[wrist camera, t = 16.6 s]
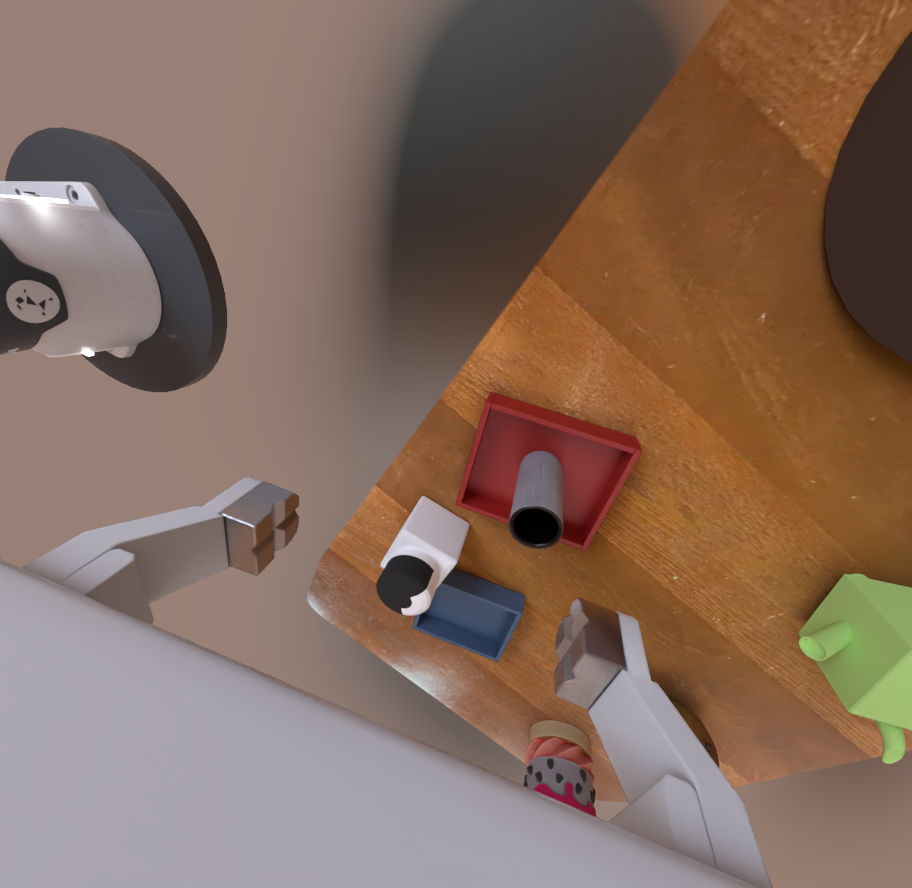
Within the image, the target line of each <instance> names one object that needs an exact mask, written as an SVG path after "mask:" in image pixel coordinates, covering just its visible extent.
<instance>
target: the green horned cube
mask: <svg viewBox="0 0 912 888" xmlns="http://www.w3.org/2000/svg"><path fill="white" fill-rule="evenodd" d="M798 634H799V636H800V637H801V638H800V640H799V645H800V648H801V650H802V651H803V652H804V653H805V654H806V655H807V656H808V657H810V658H812V659H814V660H815V661H816V663H817V664H818V666H819V667H820V669H821V671H822V672H823V674H824V675H825V677H826V678H827V680H828V682H829V683H830V685H831V686H832V688H833V690H834V691H835V693H836V694H837V696H838V697H839V699H840V701H841V702H842V704H843V705H844V707H845V709H846V710H847V711H848V712H850V713H852V714H855V715H859V716H862V717H866V718H870V719H873V720H875V722H876V724H877V726H878V728H879V730H880V733H881V736H882V740H883V754H882V761H883V762H884V763H887V764H891V763H894V762H897V761H898V760H900V759H901V758H902V757H903V755H904V753H905V737H904V733H903V728H906V729H910V730H912V588H911V587H906V586H901V585H897V584H892V583H887V582H882V581H878V580H873V579H869V578H868V577H867V576H865V575H862V574H851V575H849V574H844V575H843V576H842V578H841V579H840V580H839V581H838V583H837V584H836V585H835V587H834V588H833V589H832V590H831V592H830V593H829V594H828V596H827V597H826V598H825V599H824V601H823V602H822V603H821V604H820V606H819V607H818V608H817V609H816V611H815V612H814V613H813V615H812V616H811V617H810V618H809V620H808V621H807V622H806V623H805V625H804V626H803V627H802V629H801V630H800V631H799V632H798Z"/></svg>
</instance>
